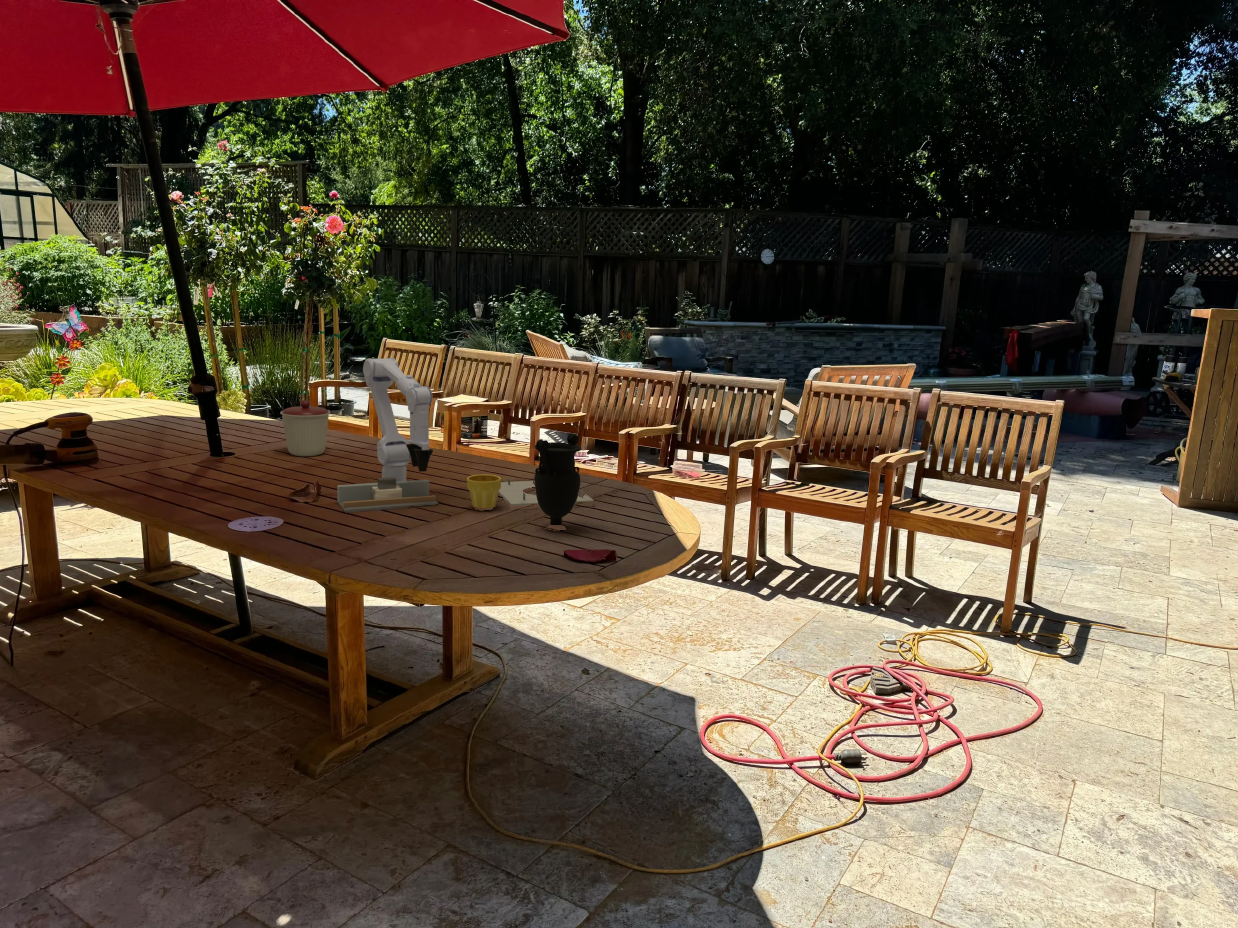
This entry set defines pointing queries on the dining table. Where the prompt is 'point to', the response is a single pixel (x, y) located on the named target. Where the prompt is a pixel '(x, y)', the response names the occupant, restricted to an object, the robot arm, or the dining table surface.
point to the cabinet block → (386, 489)
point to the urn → (557, 477)
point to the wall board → (361, 499)
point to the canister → (305, 429)
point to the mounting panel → (517, 497)
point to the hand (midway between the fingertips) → (419, 468)
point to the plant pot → (484, 490)
